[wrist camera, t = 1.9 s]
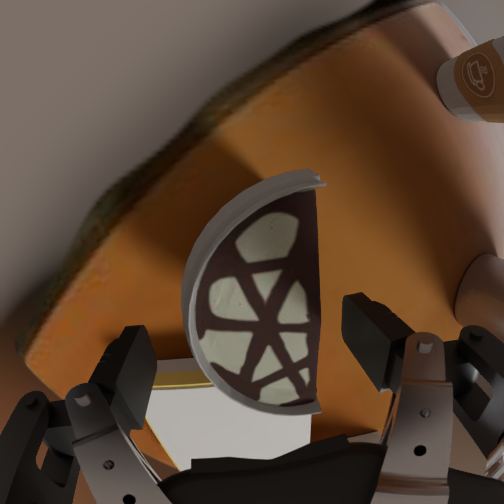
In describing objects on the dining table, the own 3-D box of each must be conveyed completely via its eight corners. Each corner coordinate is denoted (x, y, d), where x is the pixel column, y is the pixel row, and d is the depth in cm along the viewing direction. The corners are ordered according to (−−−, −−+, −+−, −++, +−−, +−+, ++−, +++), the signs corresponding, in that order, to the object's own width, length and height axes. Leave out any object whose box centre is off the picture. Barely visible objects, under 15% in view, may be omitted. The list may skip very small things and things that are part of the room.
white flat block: (299, 339, 22) (312, 368, 18) (301, 441, 27) (308, 465, 23) (138, 358, 21) (127, 387, 18) (186, 453, 26) (184, 478, 22)
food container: (186, 181, 18) (144, 187, 8) (275, 171, 18) (325, 167, 9) (211, 337, 21) (206, 434, 12) (286, 327, 22) (321, 418, 12)
